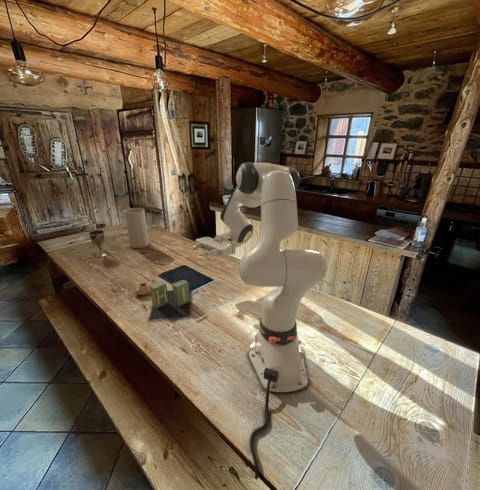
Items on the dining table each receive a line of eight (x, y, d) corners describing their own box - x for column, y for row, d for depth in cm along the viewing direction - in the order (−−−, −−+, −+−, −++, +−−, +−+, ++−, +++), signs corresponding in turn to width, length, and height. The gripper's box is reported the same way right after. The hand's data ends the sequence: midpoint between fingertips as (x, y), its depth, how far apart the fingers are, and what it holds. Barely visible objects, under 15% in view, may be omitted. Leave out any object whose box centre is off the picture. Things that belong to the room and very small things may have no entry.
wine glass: (110, 254, 171) (106, 231, 165) (99, 258, 165) (93, 235, 159) (103, 251, 175) (98, 229, 169) (91, 255, 169) (86, 233, 163)
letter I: (190, 301, 121) (188, 282, 117) (179, 306, 117) (177, 287, 113) (185, 298, 123) (183, 279, 119) (174, 303, 119) (172, 284, 115)
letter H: (168, 303, 120) (166, 283, 116) (157, 308, 116) (154, 288, 112) (164, 299, 122) (161, 280, 118) (152, 305, 118) (149, 285, 114)
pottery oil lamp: (163, 287, 133) (161, 279, 127) (144, 304, 126) (141, 296, 121) (150, 277, 135) (148, 269, 130) (131, 293, 129) (128, 286, 123)
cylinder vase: (145, 248, 179) (140, 212, 169) (127, 248, 180) (120, 212, 169) (151, 242, 191) (146, 207, 181) (134, 242, 191) (128, 207, 181)
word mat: (188, 318, 111) (188, 316, 111) (149, 321, 109) (149, 319, 109) (191, 290, 131) (191, 289, 130) (157, 292, 129) (157, 291, 129)
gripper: (208, 232, 134) (185, 239, 125) (237, 242, 121) (215, 250, 112) (208, 243, 136) (186, 251, 127) (237, 254, 124) (215, 263, 114)
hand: (200, 251), depth 119 cm, fingers open, 8 cm apart
